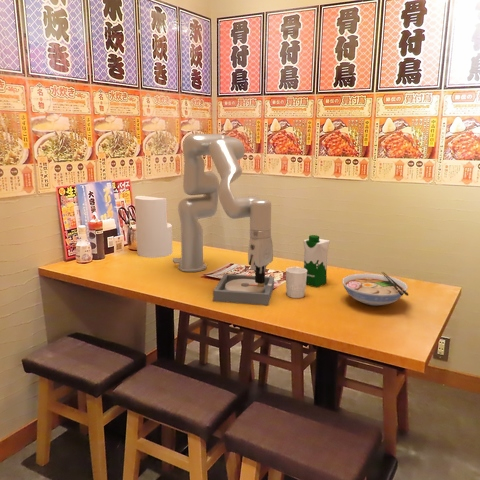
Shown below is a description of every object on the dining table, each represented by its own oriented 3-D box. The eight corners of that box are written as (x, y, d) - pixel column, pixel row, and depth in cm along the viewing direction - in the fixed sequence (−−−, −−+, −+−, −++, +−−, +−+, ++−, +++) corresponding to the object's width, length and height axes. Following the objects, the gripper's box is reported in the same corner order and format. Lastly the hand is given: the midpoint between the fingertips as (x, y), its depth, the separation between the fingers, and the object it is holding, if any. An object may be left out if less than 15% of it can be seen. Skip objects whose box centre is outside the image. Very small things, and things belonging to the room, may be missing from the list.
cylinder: (155, 259, 216) (153, 201, 209) (129, 253, 225) (127, 197, 218) (179, 251, 230) (178, 196, 223) (154, 246, 239) (152, 193, 232)
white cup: (292, 300, 167) (293, 274, 165) (281, 293, 174) (281, 268, 171) (310, 296, 170) (311, 271, 168) (298, 290, 177) (299, 265, 175)
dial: (223, 296, 166) (223, 273, 164) (227, 283, 181) (227, 261, 178) (264, 298, 165) (265, 274, 163) (265, 284, 180) (265, 262, 177)
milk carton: (299, 283, 185) (301, 235, 180) (312, 278, 191) (314, 231, 187) (317, 288, 179) (320, 239, 174) (330, 283, 186) (332, 235, 181)
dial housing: (213, 301, 165) (213, 290, 164) (224, 283, 184) (224, 273, 183) (268, 305, 162) (268, 294, 161) (273, 286, 181) (274, 276, 180)
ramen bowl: (335, 289, 178) (336, 269, 176) (394, 291, 178) (396, 270, 176) (347, 315, 154) (349, 292, 152) (416, 317, 153) (418, 294, 151)
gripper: (257, 239, 155) (256, 290, 159) (280, 231, 167) (279, 279, 171) (239, 236, 160) (239, 286, 164) (263, 229, 171) (262, 275, 176)
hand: (259, 282), depth 167 cm, fingers closed
